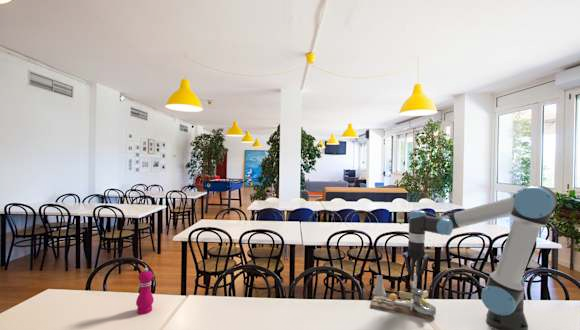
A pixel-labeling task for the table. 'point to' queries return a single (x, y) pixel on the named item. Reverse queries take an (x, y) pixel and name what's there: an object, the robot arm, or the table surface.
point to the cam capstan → (419, 302)
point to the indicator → (394, 297)
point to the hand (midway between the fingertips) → (414, 287)
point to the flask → (379, 287)
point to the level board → (394, 306)
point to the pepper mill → (145, 292)
